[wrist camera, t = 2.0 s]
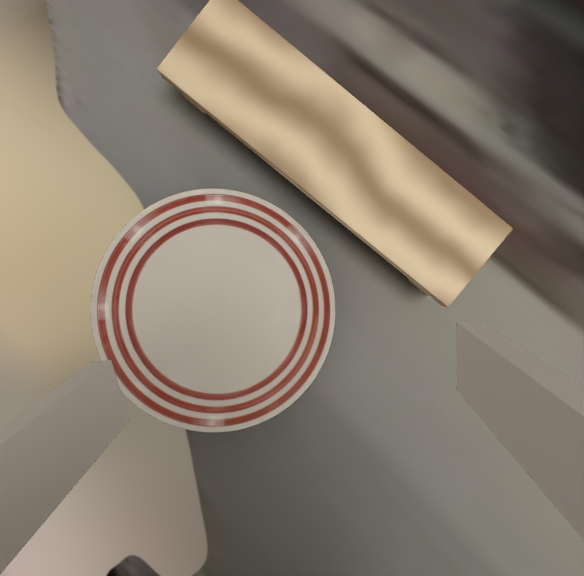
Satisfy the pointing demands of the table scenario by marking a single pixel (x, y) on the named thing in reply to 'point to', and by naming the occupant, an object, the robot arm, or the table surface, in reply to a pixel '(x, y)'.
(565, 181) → the table surface
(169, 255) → the dinner plate
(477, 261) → the long wooden block
